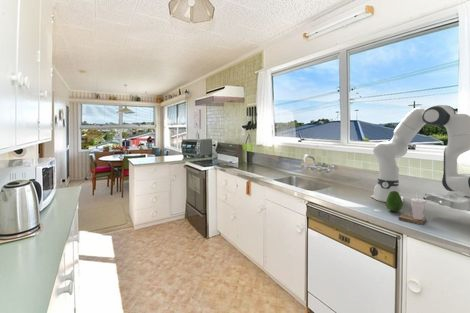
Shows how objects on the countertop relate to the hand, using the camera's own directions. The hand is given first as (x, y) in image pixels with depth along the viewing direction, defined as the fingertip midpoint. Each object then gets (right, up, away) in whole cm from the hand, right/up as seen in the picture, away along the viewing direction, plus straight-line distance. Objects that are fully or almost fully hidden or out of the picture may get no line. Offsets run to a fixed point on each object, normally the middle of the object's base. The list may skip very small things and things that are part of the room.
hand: (431, 200), depth 130 cm
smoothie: (-9, -9, -3) cm, 13 cm away
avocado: (-12, -9, +13) cm, 20 cm away
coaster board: (-10, -10, 0) cm, 14 cm away
